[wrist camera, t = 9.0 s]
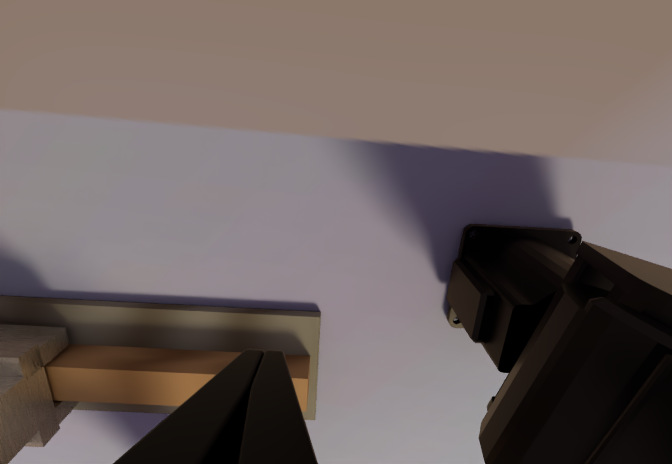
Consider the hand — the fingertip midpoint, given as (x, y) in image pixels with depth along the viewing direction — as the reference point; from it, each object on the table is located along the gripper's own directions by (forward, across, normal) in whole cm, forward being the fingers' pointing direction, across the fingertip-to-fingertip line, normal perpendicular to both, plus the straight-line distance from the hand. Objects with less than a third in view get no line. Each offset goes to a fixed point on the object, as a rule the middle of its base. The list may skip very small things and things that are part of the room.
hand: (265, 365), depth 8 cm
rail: (+12, +10, +10) cm, 19 cm away
